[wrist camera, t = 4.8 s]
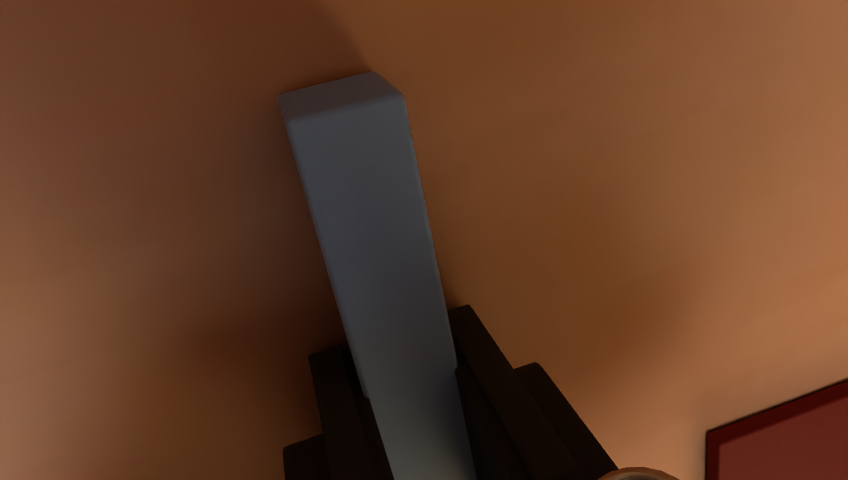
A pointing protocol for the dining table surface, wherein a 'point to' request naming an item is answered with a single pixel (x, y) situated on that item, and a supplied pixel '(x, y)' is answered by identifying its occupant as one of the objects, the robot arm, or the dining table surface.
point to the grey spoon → (382, 267)
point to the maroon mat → (786, 442)
